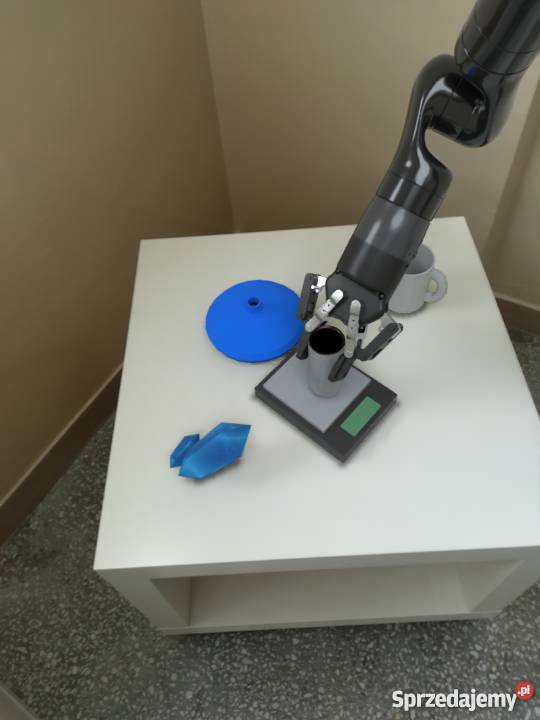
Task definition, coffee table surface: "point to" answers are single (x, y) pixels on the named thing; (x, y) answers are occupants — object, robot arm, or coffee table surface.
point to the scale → (326, 405)
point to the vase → (254, 321)
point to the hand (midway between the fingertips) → (316, 368)
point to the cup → (419, 283)
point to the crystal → (210, 450)
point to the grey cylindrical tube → (324, 359)
